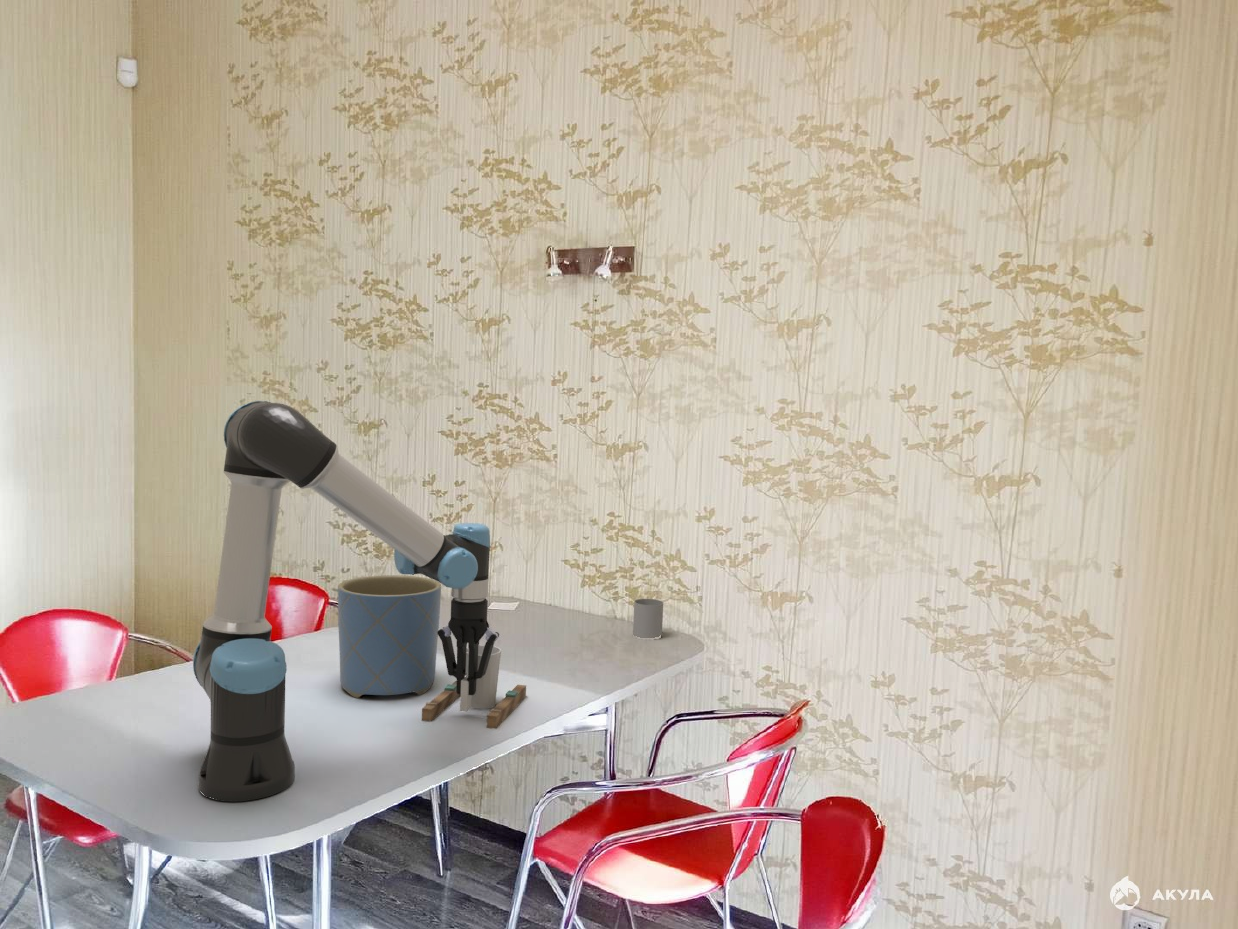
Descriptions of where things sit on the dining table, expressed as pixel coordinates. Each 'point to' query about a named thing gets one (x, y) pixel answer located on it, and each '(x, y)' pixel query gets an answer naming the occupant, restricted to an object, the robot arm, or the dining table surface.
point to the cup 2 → (648, 618)
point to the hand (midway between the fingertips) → (465, 709)
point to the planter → (388, 634)
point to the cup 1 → (486, 680)
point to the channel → (493, 717)
